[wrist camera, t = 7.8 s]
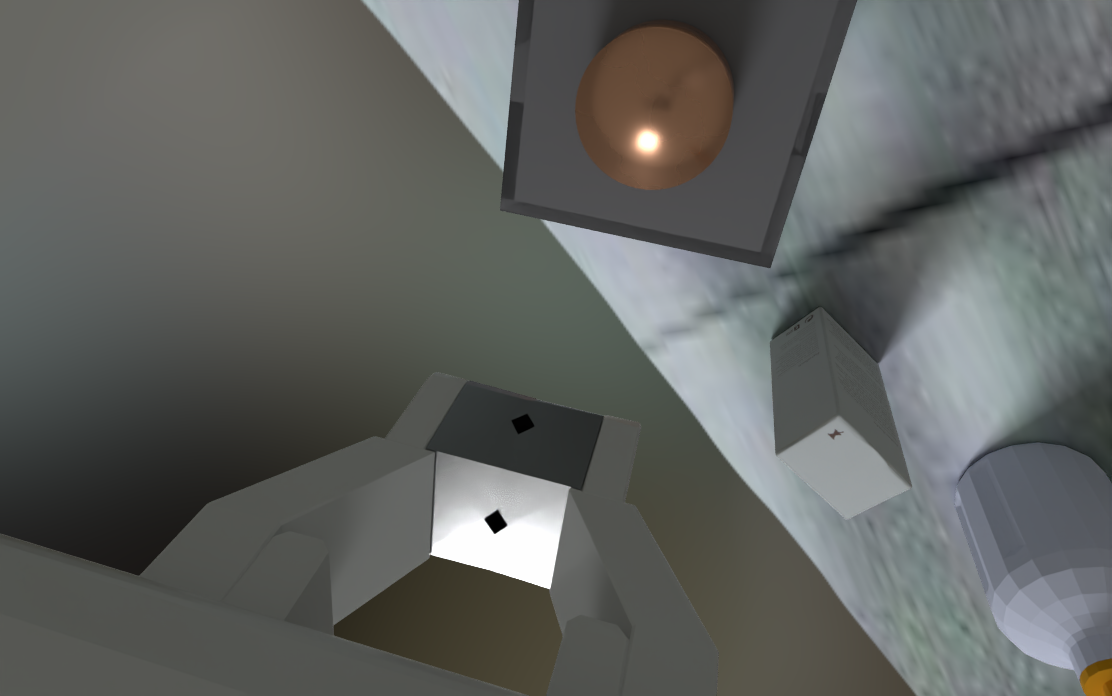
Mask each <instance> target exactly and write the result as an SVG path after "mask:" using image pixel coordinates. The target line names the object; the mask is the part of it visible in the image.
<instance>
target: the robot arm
mask: <svg viewBox="0 0 1112 696" xmlns="http://www.w3.org/2000/svg"><path fill="white" fill-rule="evenodd" d="M640 430H641V426H640V423H639V422H635V421H630V420H626V419H621V418H617V417H612V416H608V415H605V417H604V416H602V415H598V414H594V413H590V412H586V411H582V410H578V409H574V408H569V407H566V406H561V405H557V404H554V403H550V402H545V401H541V400H537V399H536V398H532V397H528V396H525V395H521V394H517V393H514V392H510V391H507V390H503V389H499V388H496V387H492V386H488V385H485V384H481V383H477V382H474V381H468V380H466V379H462V378H458V377H454V376H450V375H446V374H442V373H438V372H436V373H434V374H432V375H430V376H429V377H428V378H427V380H426V381H425V383H424V384H423V386H422V387H421V388H420V390H419V391H418V393H417V394H416V395H415V397H414V398H413V400H412V401H411V402H410V404H409V405H408V407H407V408H406V409H405V411H404V412H403V414H402V415H401V416H400V418H399V419H398V421H397V422H396V424H395V425H394V426H393V428H392V429H391V430H390V432H389V433H388V435H387V436H386V438H385V439H383V438H379V437H375V436H374V437H372V438H369V439H367V440H364V441H362V442H359V443H357V444H354V445H352V446H350V447H347V448H344V449H342V450H339V451H337V452H334V453H332V454H329V455H327V456H325V457H322V458H319V459H317V460H314V461H312V462H309V463H307V464H305V465H302V466H300V467H297V468H295V469H292V470H290V471H287V472H285V473H282V474H280V475H277V476H275V477H273V478H270V479H267V480H265V481H262V482H260V483H258V484H255V485H252V486H250V487H247V488H245V489H242V490H240V491H238V492H235V493H232V494H230V495H227V496H225V497H223V498H220V499H218V500H215V501H213V502H210V503H208V504H207V505H206V506H205V507H204V508H203V509H202V510H201V511H200V512H199V513H198V514H197V515H196V516H195V517H194V519H193V520H192V521H191V522H190V523H189V524H188V525H187V526H186V527H185V528H184V529H183V530H182V531H181V532H180V533H179V534H178V535H177V537H176V538H175V539H174V540H173V541H172V542H171V543H170V544H169V545H168V546H167V547H166V548H165V549H164V550H163V552H162V553H161V554H160V555H159V556H158V557H157V558H156V559H155V560H154V561H153V562H152V563H151V564H150V565H149V566H148V568H146V570H145V571H144V572H143V573H142V574H141V575H140V576H136V575H133V574H130V573H127V572H123V571H120V570H117V569H114V568H110V567H107V566H104V565H101V564H97V563H94V562H90V561H87V560H84V559H81V558H78V557H74V556H71V555H68V554H65V553H61V552H58V551H54V550H51V549H48V548H45V547H41V546H38V545H35V544H32V543H29V542H25V541H22V540H19V539H16V538H12V537H9V536H6V535H3V534H0V696H528V695H525V694H522V693H518V692H515V691H512V690H508V689H505V688H502V687H499V686H495V685H492V684H489V683H486V682H483V681H479V680H476V679H472V678H469V677H466V676H463V675H460V674H456V673H453V672H450V671H447V670H443V669H440V668H437V667H433V666H430V665H427V664H424V663H420V662H417V661H414V660H410V659H407V658H404V657H401V656H397V655H394V654H391V653H388V652H385V651H381V650H378V649H375V648H372V647H368V646H365V645H362V644H359V643H355V642H352V641H349V640H345V639H342V638H339V637H336V636H334V633H333V625H334V624H336V623H337V622H339V621H340V620H342V619H343V618H344V617H346V616H347V615H349V614H350V613H352V612H353V611H354V610H356V609H357V608H359V607H360V606H362V605H363V604H364V603H366V602H367V601H369V600H370V599H371V598H373V597H374V596H376V595H377V594H379V593H380V592H382V591H383V590H384V589H386V588H387V587H389V586H390V585H392V584H393V583H394V582H396V581H397V580H399V579H400V578H401V577H403V576H404V575H406V574H407V573H408V572H410V571H411V570H413V569H414V568H416V567H417V566H419V565H420V564H421V563H423V562H424V561H425V560H427V559H429V554H430V555H434V556H438V557H442V558H446V559H450V560H454V561H458V562H462V563H465V564H469V565H473V566H477V567H481V568H485V569H489V570H492V571H495V572H498V573H502V574H505V575H508V576H511V577H514V578H517V579H521V580H524V581H527V582H530V583H533V584H537V585H540V586H543V587H546V588H549V589H550V595H551V599H552V602H553V605H554V608H555V612H556V615H557V618H558V621H559V625H560V628H561V632H562V635H563V639H562V642H561V645H560V649H559V652H558V656H557V660H556V663H555V667H554V671H553V674H552V677H551V681H550V684H549V688H548V691H547V695H546V696H717V677H718V656H719V655H718V654H719V652H718V650H717V648H716V647H715V645H714V643H713V641H712V640H711V638H710V636H709V634H708V632H707V631H706V629H705V627H704V625H703V624H702V622H701V620H700V618H699V617H698V615H697V613H696V611H695V610H694V608H693V606H692V604H691V603H690V601H689V599H688V597H687V596H686V594H685V592H684V590H683V589H682V587H681V585H680V583H679V581H678V580H677V578H676V576H675V574H674V573H673V571H672V569H671V567H670V566H669V564H668V562H667V560H666V559H665V557H664V555H663V553H662V552H661V550H660V548H659V546H658V545H657V543H656V541H655V539H654V538H653V536H652V534H651V533H650V531H649V529H648V527H647V525H646V524H645V522H644V520H643V518H642V517H641V515H640V513H639V511H638V510H637V508H636V506H634V505H631V504H628V503H625V499H626V494H627V490H628V485H629V480H630V476H631V471H632V467H633V462H634V457H635V453H636V447H637V443H638V439H639V434H640Z"/></svg>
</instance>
